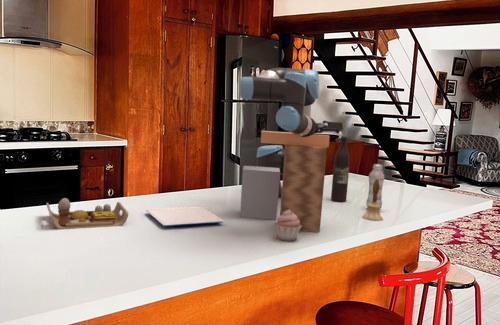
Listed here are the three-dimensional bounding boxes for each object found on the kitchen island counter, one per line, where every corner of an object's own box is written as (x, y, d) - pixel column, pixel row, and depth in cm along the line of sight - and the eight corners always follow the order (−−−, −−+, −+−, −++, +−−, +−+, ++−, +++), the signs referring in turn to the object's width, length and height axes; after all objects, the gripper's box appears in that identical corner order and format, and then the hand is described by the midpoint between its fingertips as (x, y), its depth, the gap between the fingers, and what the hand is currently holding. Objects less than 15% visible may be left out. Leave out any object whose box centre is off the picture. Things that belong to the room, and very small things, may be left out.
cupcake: (293, 244, 163) (295, 214, 162) (267, 238, 168) (269, 209, 167) (305, 238, 171) (308, 209, 170) (281, 232, 176) (283, 204, 175)
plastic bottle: (381, 212, 218) (386, 166, 215) (365, 210, 219) (370, 164, 217) (381, 208, 224) (385, 164, 222) (365, 207, 226) (369, 162, 223)
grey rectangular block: (239, 217, 194) (242, 169, 191) (241, 211, 204) (244, 165, 201) (276, 219, 193) (280, 172, 191) (275, 213, 203) (279, 168, 201)
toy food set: (49, 231, 162) (49, 208, 161) (45, 217, 178) (45, 195, 177) (129, 226, 173) (130, 204, 172) (118, 213, 189) (119, 193, 188)
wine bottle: (329, 200, 234) (334, 136, 230) (332, 198, 241) (338, 135, 237) (344, 203, 232) (350, 137, 227) (347, 200, 238) (353, 136, 234)
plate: (163, 230, 170) (163, 224, 170) (144, 214, 190) (145, 208, 190) (224, 226, 181) (224, 220, 180) (200, 211, 200) (200, 206, 200)
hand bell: (383, 217, 209) (387, 179, 207) (382, 221, 201) (386, 182, 199) (363, 214, 212) (367, 176, 209) (360, 218, 204) (364, 179, 202)
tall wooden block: (280, 229, 180) (286, 145, 176) (279, 222, 190) (285, 142, 186) (319, 232, 180) (326, 148, 176) (316, 224, 190) (323, 145, 186)
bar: (260, 142, 179) (261, 131, 179) (260, 141, 183) (261, 130, 183) (328, 147, 179) (329, 135, 178) (327, 146, 183) (328, 134, 182)
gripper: (272, 143, 183) (295, 151, 201) (338, 127, 172) (356, 138, 190) (269, 123, 184) (292, 133, 203) (335, 106, 173) (353, 119, 192)
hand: (323, 135), depth 196 cm, fingers open, 13 cm apart
